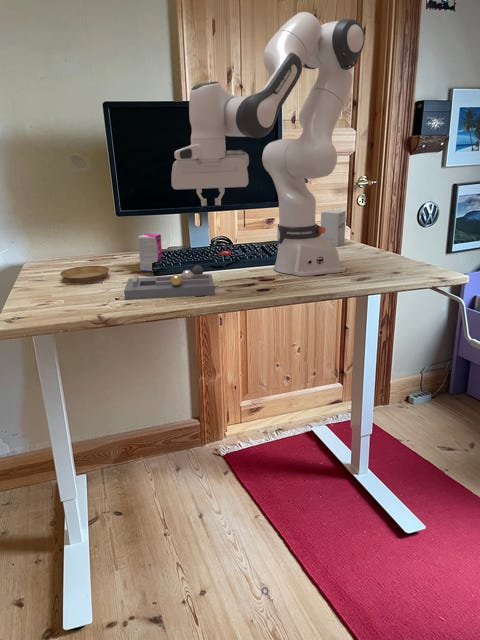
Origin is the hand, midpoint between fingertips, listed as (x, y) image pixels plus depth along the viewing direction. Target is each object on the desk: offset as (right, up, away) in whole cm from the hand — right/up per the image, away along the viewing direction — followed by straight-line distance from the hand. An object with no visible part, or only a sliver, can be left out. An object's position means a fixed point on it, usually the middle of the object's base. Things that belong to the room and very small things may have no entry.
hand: (211, 205), depth 134 cm
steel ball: (-7, -18, +6) cm, 20 cm away
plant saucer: (-40, -18, +22) cm, 49 cm away
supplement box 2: (+43, -2, +58) cm, 72 cm away
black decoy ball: (-4, -17, +10) cm, 20 cm away
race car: (+3, -12, +35) cm, 37 cm away
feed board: (-12, -22, +7) cm, 26 cm away
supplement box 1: (-21, -15, +29) cm, 38 cm away
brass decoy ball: (-10, -20, +2) cm, 22 cm away
